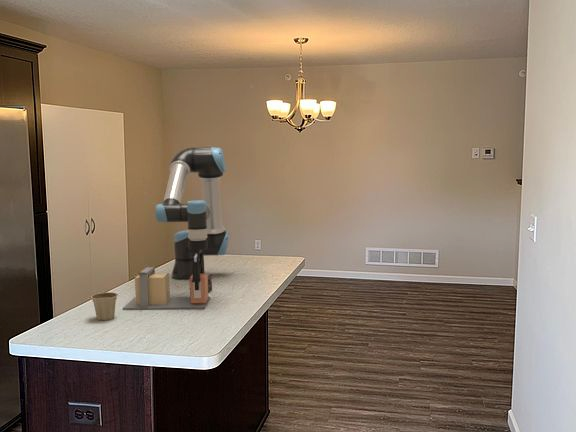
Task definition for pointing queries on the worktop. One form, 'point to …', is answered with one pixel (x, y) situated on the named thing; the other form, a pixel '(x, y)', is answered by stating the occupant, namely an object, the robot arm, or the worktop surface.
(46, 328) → the worktop surface
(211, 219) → the robot arm
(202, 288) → the block
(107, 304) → the flower pot
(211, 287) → the box
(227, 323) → the worktop surface
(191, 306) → the holder
